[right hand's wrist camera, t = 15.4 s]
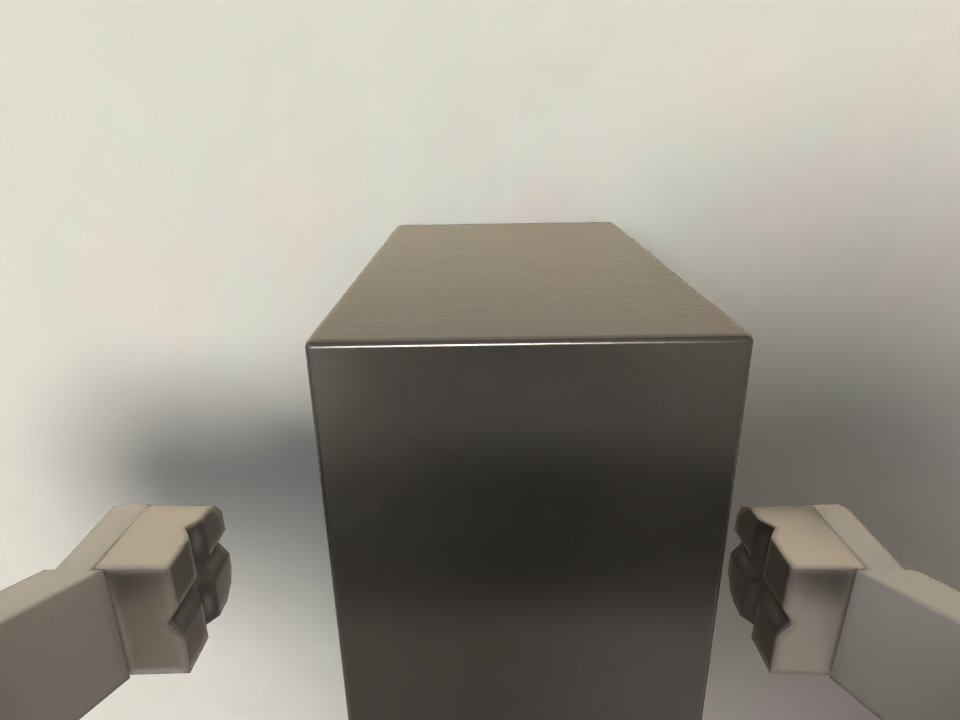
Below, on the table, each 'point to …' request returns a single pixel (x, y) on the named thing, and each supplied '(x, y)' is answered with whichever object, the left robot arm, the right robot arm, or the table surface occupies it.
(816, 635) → the right robot arm
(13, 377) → the table surface
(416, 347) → the bar
